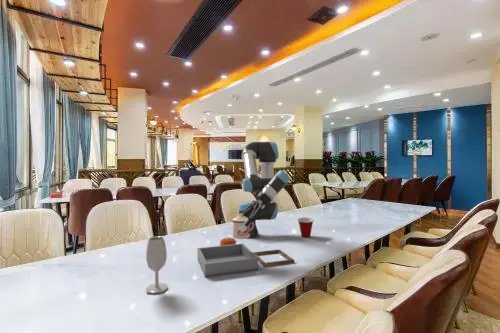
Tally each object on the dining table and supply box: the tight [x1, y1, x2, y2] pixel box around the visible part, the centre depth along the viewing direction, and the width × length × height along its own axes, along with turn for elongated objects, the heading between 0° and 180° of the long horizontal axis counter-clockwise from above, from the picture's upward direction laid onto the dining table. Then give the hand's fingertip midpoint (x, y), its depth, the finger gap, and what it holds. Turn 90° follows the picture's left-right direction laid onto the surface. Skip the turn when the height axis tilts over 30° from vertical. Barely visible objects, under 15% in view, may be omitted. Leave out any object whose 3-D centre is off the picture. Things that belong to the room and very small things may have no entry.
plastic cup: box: [297, 217, 315, 239], centre depth 196 cm, size 11×11×12 cm
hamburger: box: [218, 237, 238, 246], centre depth 170 cm, size 9×10×7 cm
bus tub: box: [196, 243, 259, 278], centre depth 145 cm, size 25×25×6 cm
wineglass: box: [145, 235, 169, 295], centre depth 117 cm, size 9×9×21 cm
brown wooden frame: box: [251, 248, 295, 268], centre depth 153 cm, size 18×16×2 cm
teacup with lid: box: [231, 213, 254, 240], centre depth 148 cm, size 12×9×12 cm
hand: (237, 228), depth 146 cm, fingers closed on teacup with lid, 9 cm apart
